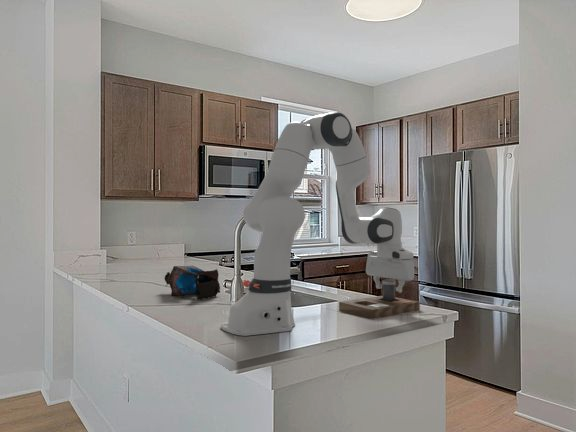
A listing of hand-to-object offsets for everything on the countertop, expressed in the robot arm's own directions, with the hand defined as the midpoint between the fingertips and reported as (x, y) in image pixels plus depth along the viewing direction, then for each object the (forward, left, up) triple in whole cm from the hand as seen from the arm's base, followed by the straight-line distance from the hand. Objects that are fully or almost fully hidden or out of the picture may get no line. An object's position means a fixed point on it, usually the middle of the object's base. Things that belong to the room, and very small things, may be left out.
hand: (388, 290), depth 164 cm
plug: (0, 0, -6) cm, 6 cm away
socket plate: (-6, -1, -6) cm, 9 cm away
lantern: (-50, +64, -7) cm, 81 cm away
